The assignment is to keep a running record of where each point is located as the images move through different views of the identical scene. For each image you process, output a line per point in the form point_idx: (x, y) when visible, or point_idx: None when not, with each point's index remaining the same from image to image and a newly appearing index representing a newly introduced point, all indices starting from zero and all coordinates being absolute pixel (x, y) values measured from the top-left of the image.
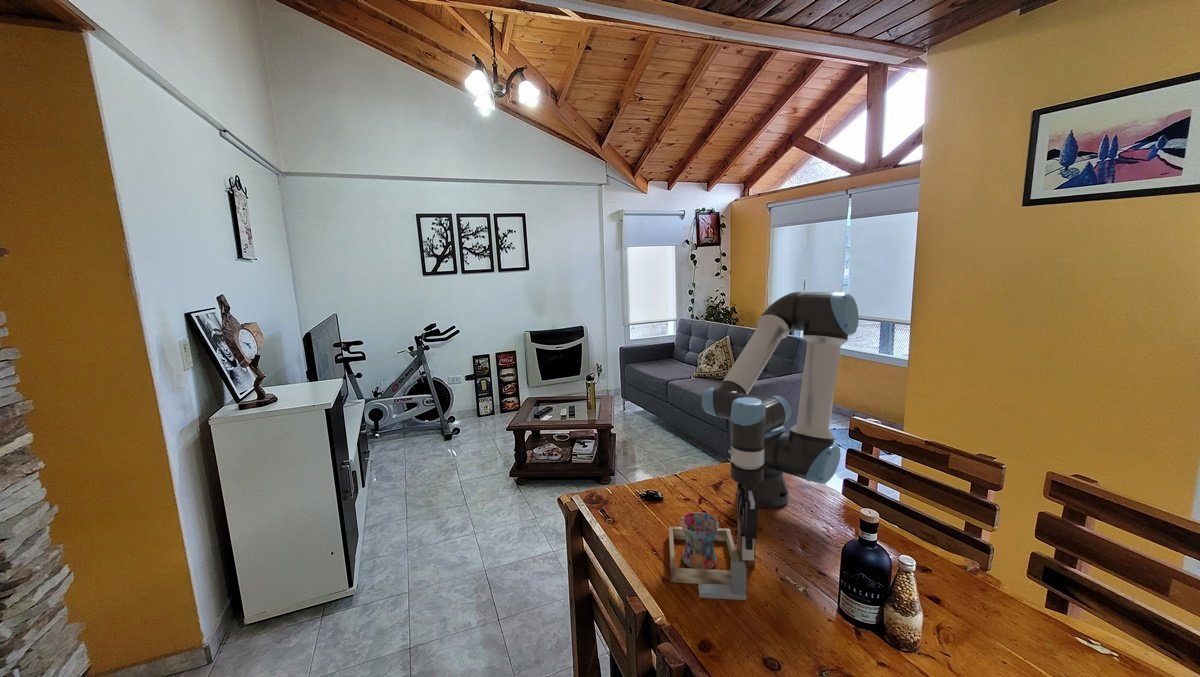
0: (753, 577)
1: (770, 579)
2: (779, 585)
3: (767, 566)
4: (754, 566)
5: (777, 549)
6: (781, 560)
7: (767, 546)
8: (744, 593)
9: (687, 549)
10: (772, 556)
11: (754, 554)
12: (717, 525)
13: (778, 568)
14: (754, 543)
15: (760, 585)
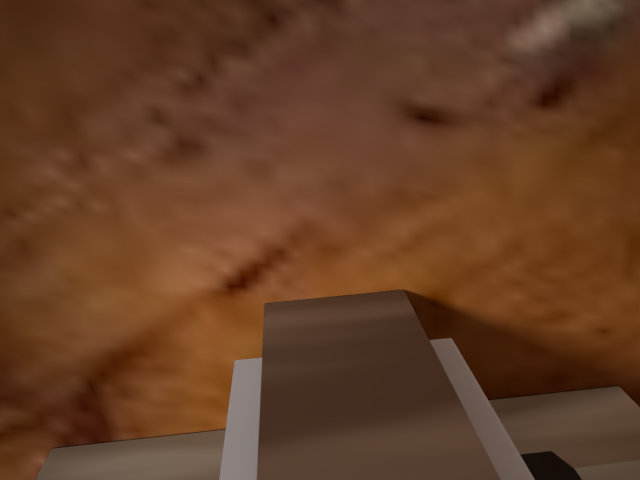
0: (533, 311)
1: (558, 190)
2: (633, 130)
3: (390, 190)
4: (403, 293)
5: (91, 46)
6: (282, 41)
7: (65, 144)
8: None
9: None
10: (230, 121)
11: (436, 358)
12: None
13: (411, 96)
14: (480, 450)
15: (622, 273)
